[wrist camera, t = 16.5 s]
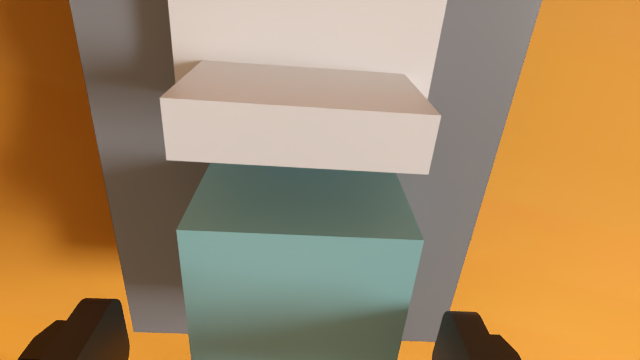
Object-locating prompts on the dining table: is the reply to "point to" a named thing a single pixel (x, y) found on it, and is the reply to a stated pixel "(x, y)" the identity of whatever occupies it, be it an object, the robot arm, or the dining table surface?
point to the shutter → (304, 83)
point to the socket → (184, 176)
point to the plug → (297, 264)
